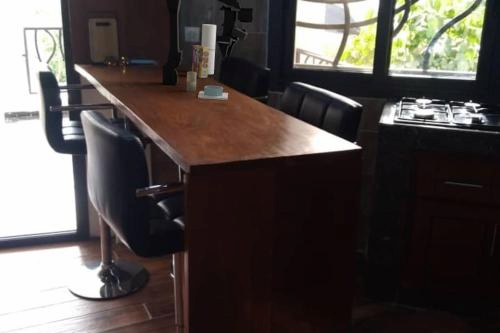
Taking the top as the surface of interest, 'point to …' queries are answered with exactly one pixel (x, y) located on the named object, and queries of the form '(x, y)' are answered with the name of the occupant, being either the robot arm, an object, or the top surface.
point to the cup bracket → (213, 93)
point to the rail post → (191, 81)
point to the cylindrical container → (209, 44)
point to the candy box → (200, 61)
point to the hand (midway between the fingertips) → (226, 57)
